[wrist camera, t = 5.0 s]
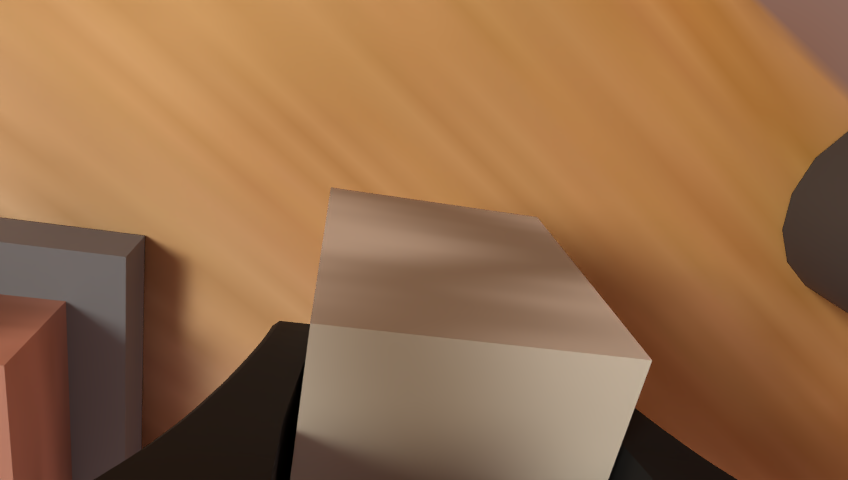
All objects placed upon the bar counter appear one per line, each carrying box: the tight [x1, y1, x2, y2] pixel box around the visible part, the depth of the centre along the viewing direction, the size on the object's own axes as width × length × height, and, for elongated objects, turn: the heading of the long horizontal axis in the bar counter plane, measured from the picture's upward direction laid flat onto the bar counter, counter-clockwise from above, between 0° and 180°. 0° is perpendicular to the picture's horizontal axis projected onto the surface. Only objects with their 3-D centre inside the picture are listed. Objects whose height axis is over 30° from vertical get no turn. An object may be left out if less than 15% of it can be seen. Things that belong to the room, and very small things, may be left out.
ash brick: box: [290, 188, 652, 480], centre depth 10 cm, size 4×6×5 cm, turn 169°
